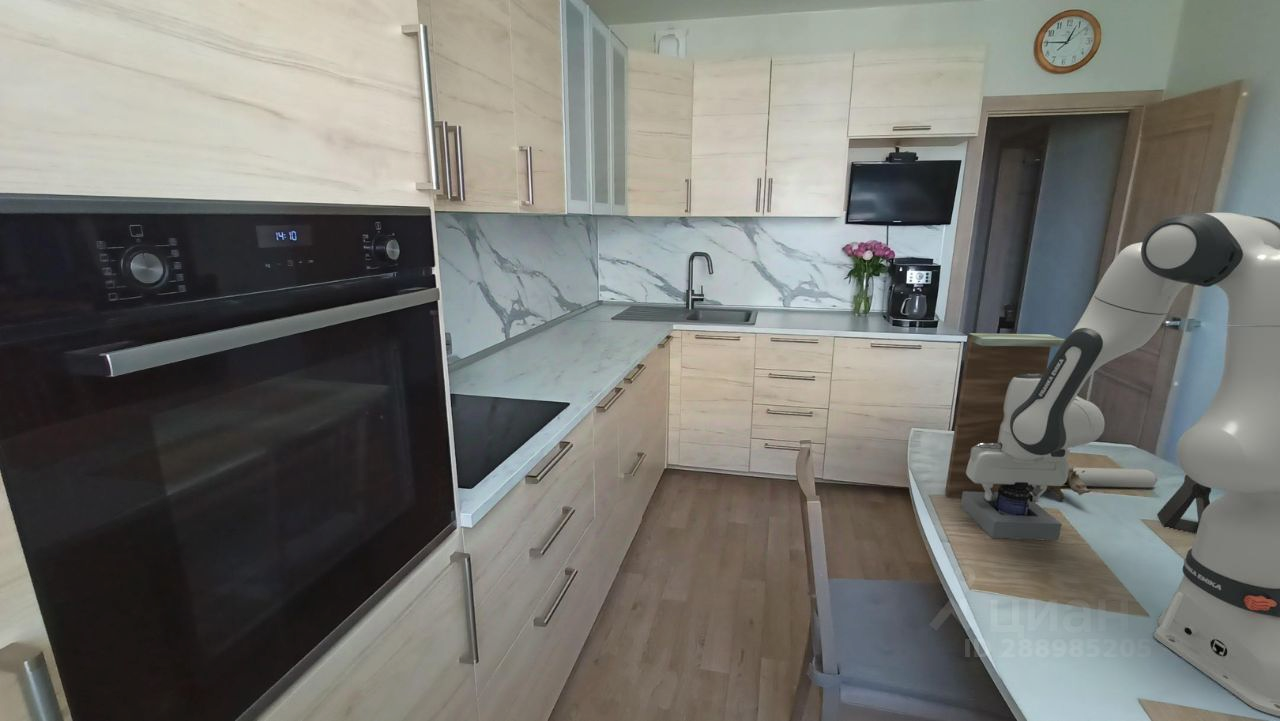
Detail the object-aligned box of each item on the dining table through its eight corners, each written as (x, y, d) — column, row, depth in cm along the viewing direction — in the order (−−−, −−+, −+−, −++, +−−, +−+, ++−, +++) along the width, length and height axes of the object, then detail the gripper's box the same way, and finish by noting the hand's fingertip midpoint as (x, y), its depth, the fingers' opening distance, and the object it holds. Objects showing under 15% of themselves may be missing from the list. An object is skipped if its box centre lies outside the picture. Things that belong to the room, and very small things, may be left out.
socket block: (1058, 540, 122) (1061, 523, 121) (991, 538, 123) (994, 521, 122) (1020, 508, 136) (1023, 493, 135) (960, 506, 137) (962, 491, 136)
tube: (1143, 467, 150) (1048, 465, 151) (1162, 469, 145) (1063, 467, 145) (1144, 487, 150) (1049, 485, 150) (1163, 490, 144) (1064, 488, 145)
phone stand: (1208, 525, 129) (1222, 477, 126) (1217, 538, 124) (1231, 488, 121) (1156, 515, 133) (1168, 468, 130) (1163, 526, 128) (1175, 478, 125)
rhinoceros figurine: (1003, 467, 152) (1049, 435, 143) (1047, 507, 147) (1099, 477, 138) (994, 478, 147) (1042, 446, 137) (1040, 521, 142) (1093, 490, 132)
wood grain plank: (1033, 508, 136) (1065, 339, 126) (956, 506, 137) (982, 338, 127) (1018, 496, 142) (1048, 334, 131) (944, 494, 143) (969, 333, 132)
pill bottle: (1029, 531, 126) (1038, 486, 123) (999, 528, 127) (1007, 483, 125) (1018, 517, 132) (1026, 473, 129) (989, 514, 133) (996, 471, 130)
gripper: (980, 448, 122) (970, 505, 126) (1078, 450, 121) (1066, 508, 125) (965, 437, 128) (957, 492, 132) (1059, 439, 127) (1048, 495, 131)
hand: (1010, 500), depth 128 cm, fingers open, 8 cm apart
